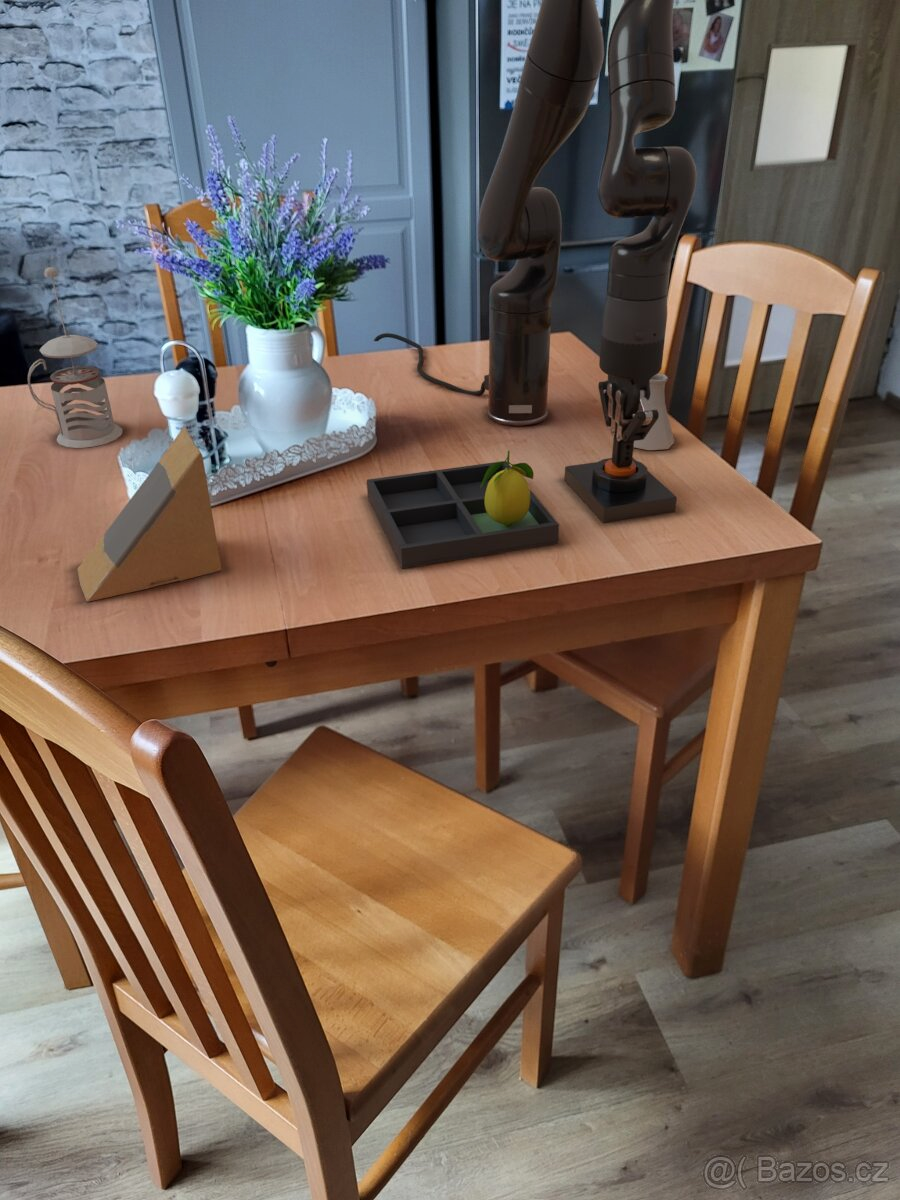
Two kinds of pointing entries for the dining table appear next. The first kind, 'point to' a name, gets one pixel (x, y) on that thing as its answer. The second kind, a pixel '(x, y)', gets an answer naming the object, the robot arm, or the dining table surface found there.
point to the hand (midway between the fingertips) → (621, 464)
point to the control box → (619, 492)
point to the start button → (619, 469)
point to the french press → (81, 424)
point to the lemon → (508, 492)
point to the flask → (661, 429)
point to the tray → (451, 517)
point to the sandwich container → (157, 530)
